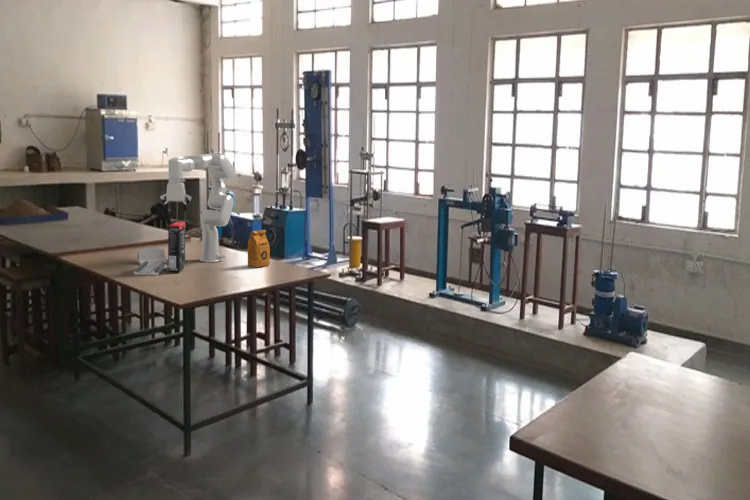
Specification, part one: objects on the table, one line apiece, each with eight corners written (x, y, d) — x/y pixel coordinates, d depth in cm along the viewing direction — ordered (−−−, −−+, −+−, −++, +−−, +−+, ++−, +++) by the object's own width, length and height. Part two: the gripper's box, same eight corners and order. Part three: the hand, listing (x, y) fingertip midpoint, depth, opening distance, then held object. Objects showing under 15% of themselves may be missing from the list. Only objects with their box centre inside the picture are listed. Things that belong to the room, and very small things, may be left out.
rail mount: (167, 267, 398) (166, 261, 397) (158, 275, 376) (158, 269, 376) (144, 266, 397) (144, 260, 396) (134, 274, 375) (133, 268, 375)
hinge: (140, 265, 401) (137, 248, 402) (137, 266, 404) (135, 249, 405) (167, 262, 411) (165, 246, 411) (165, 263, 414) (163, 247, 415)
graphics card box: (174, 267, 399) (173, 221, 394) (186, 267, 399) (185, 221, 394) (167, 273, 382) (167, 225, 377) (180, 273, 382) (179, 225, 378)
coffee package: (272, 266, 411) (272, 230, 407) (255, 269, 402) (256, 232, 398) (261, 263, 418) (261, 228, 414) (245, 266, 408) (245, 230, 405)
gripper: (192, 181, 386) (192, 210, 389) (161, 180, 384) (162, 210, 387) (190, 182, 378) (190, 212, 381) (158, 181, 377) (158, 211, 380)
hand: (176, 211), depth 384 cm, fingers open, 9 cm apart
